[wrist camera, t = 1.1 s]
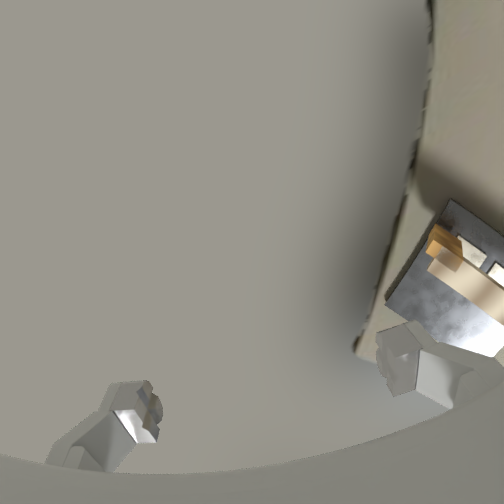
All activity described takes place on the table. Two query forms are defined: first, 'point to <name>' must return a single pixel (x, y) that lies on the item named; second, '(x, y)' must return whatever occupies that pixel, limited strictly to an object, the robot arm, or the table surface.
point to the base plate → (446, 298)
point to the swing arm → (463, 273)
